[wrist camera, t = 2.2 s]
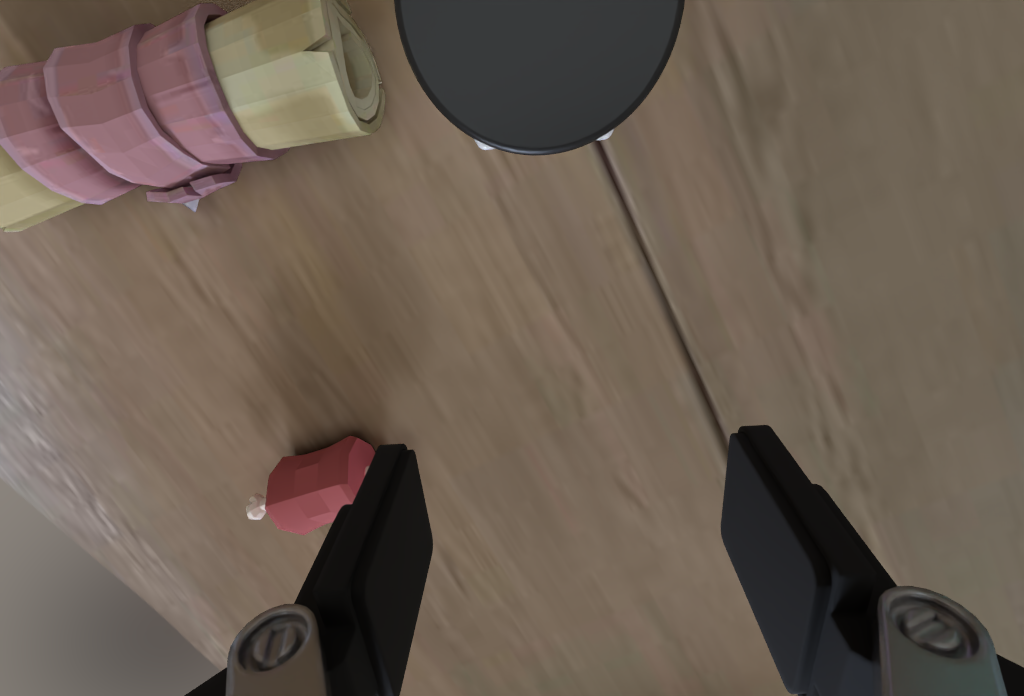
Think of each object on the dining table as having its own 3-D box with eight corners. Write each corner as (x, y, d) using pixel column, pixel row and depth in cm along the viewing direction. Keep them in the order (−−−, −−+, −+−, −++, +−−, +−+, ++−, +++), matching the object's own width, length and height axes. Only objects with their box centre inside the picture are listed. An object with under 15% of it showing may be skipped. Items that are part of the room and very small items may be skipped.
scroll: (69, 262, 29) (409, 185, 27) (-105, 234, 22) (343, 124, 19) (47, 129, 29) (383, 39, 27) (-134, 55, 22) (308, -77, 19)
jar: (497, -109, 23) (463, -301, 12) (658, -15, 24) (761, -112, 13) (424, 97, 26) (346, 93, 16) (567, 170, 28) (588, 213, 17)
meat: (393, 408, 34) (383, 471, 30) (428, 452, 37) (423, 514, 33) (237, 459, 36) (210, 524, 32) (282, 496, 39) (262, 559, 35)
